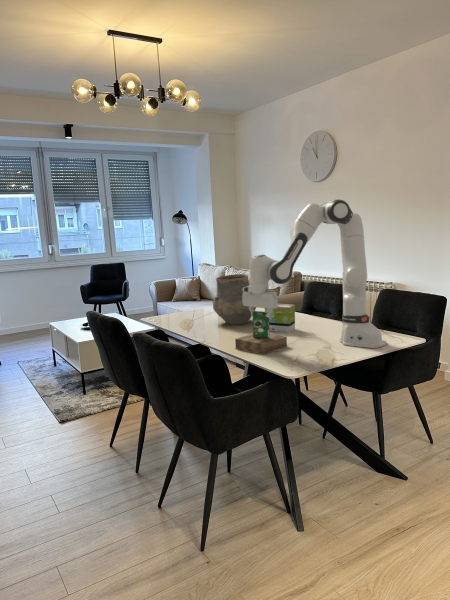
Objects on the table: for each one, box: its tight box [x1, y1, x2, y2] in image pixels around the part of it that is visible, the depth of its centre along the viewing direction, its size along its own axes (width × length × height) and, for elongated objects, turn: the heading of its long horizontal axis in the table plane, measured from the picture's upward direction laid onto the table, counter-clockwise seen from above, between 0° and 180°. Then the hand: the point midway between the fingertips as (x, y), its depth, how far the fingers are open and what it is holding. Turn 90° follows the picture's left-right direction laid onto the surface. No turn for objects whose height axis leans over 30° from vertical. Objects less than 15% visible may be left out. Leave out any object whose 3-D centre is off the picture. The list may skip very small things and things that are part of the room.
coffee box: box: [252, 310, 270, 338], centre depth 224 cm, size 8×3×13 cm, turn 65°
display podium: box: [234, 333, 288, 355], centre depth 226 cm, size 18×18×5 cm
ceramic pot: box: [212, 273, 257, 326], centre depth 286 cm, size 28×28×30 cm
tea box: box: [264, 303, 296, 334], centre depth 261 cm, size 15×10×15 cm
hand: (260, 316), depth 224 cm, fingers open, 8 cm apart
